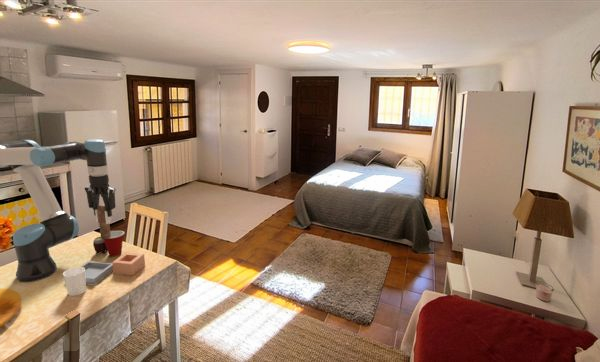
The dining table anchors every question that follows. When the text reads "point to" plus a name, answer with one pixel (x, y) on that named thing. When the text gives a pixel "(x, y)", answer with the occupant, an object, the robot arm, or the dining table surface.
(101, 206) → the walnut dowel
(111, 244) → the plastic cup
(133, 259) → the terracotta block
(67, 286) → the white cup
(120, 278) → the dining table surface
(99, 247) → the mate gourd
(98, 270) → the grey tray
